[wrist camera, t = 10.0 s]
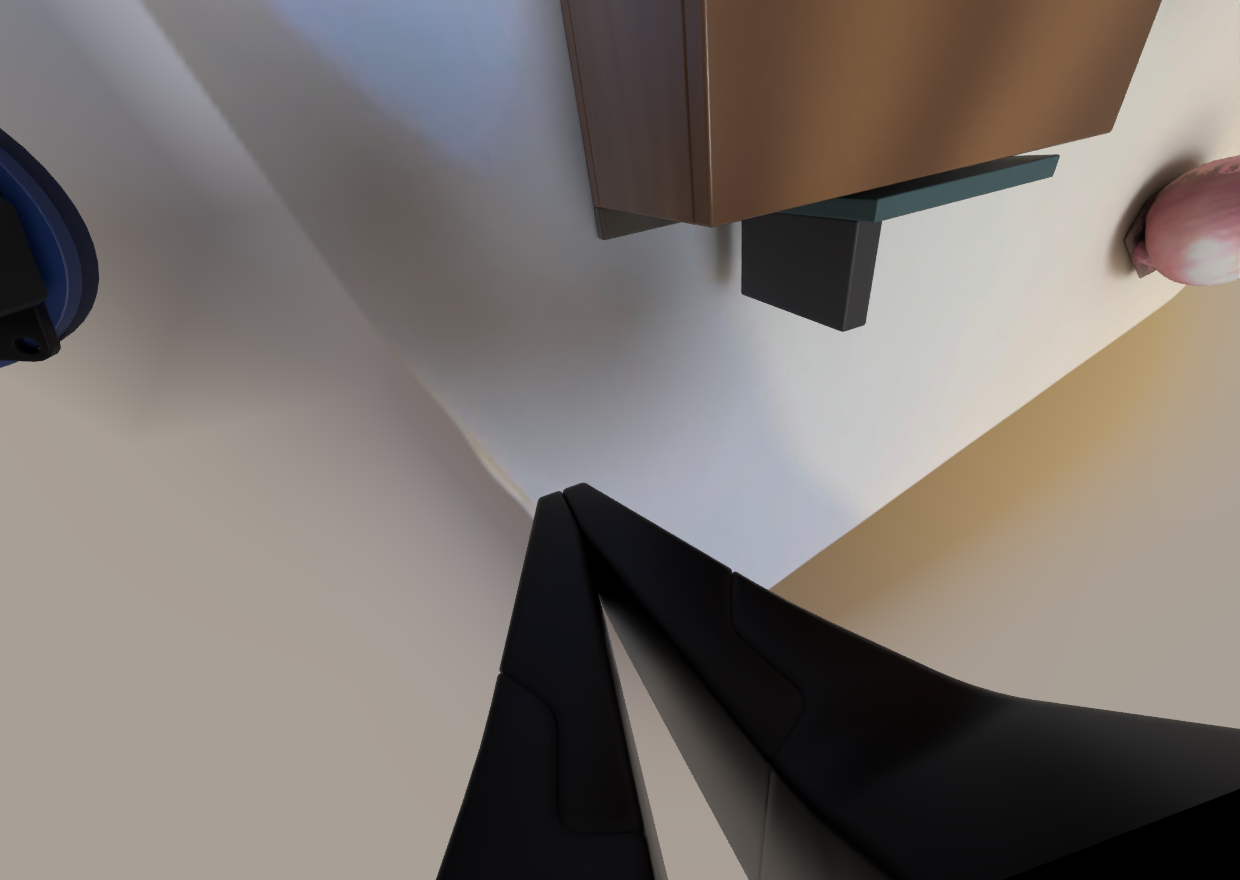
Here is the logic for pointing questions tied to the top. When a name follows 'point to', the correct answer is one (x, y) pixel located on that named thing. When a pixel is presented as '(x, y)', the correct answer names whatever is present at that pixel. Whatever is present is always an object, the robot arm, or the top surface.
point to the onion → (1192, 227)
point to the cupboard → (829, 95)
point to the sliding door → (854, 238)
